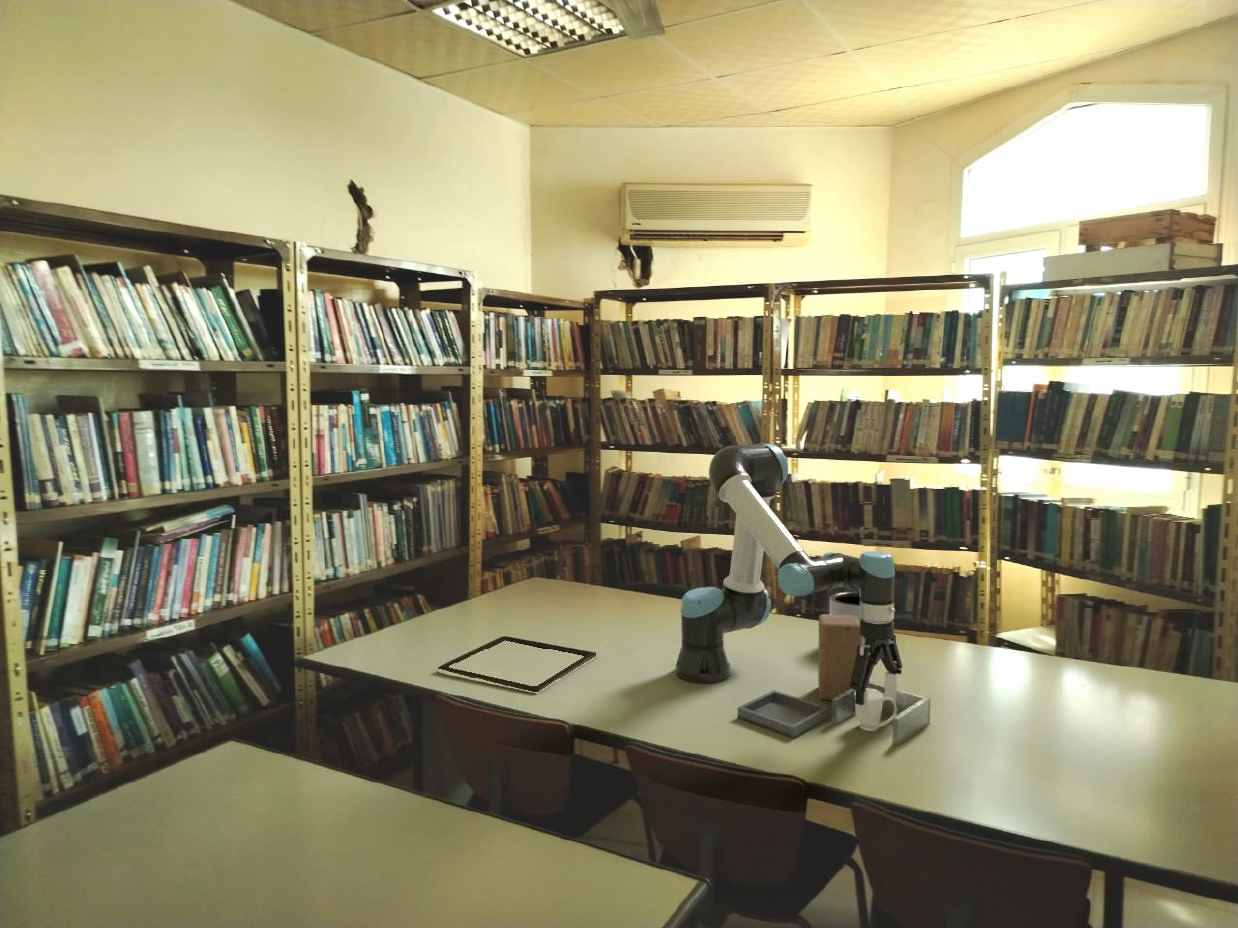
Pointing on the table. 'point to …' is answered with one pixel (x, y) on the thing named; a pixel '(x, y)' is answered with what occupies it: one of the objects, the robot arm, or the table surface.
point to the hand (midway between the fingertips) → (876, 708)
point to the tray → (783, 713)
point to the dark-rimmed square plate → (586, 654)
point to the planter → (846, 605)
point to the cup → (875, 711)
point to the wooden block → (837, 653)
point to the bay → (909, 711)
